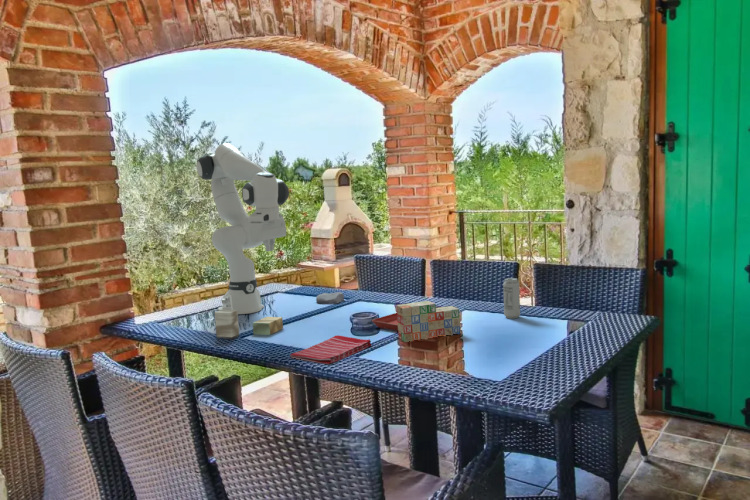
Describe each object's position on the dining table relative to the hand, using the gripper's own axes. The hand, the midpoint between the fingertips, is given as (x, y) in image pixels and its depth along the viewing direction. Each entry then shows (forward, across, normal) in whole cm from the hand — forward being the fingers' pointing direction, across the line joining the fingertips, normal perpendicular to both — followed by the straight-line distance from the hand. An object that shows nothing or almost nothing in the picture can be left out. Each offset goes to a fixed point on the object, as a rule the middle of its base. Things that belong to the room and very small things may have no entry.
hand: (269, 250), depth 234 cm
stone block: (+32, -50, -2) cm, 59 cm away
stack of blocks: (+29, -2, +64) cm, 70 cm away
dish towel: (+30, +23, +38) cm, 54 cm away
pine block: (+31, +16, -10) cm, 36 cm away
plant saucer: (+30, -14, +50) cm, 60 cm away
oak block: (+28, +10, 0) cm, 30 cm away
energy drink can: (+29, -35, +86) cm, 97 cm away
